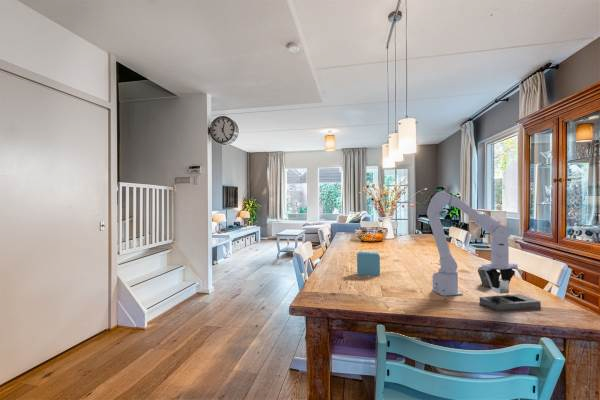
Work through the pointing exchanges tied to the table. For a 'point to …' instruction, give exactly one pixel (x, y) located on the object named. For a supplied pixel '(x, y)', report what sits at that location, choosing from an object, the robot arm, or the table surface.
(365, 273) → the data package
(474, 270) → the table surface
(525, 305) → the dark grey flat block
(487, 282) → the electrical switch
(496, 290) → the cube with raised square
